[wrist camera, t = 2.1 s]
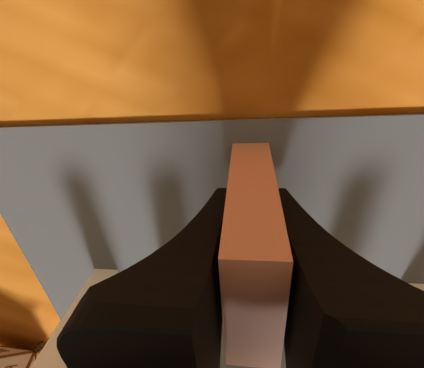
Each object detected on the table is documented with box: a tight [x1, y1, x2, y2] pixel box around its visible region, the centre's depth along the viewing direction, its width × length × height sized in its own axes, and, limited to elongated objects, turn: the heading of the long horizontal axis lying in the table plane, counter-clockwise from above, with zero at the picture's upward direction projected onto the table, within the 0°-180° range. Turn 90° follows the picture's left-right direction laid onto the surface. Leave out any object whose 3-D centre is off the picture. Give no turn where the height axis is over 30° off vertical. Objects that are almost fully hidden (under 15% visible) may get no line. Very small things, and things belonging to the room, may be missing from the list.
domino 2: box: [218, 143, 293, 368], centre depth 10 cm, size 2×4×7 cm, turn 4°
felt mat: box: [0, 113, 424, 368], centre depth 17 cm, size 26×22×1 cm
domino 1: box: [31, 269, 118, 368], centre depth 15 cm, size 2×4×7 cm, turn 4°
